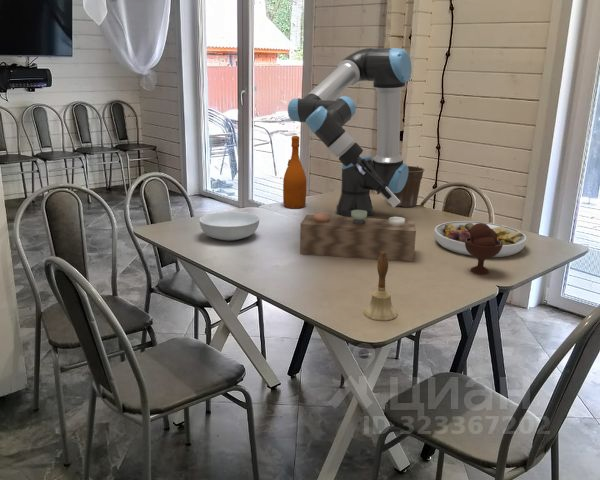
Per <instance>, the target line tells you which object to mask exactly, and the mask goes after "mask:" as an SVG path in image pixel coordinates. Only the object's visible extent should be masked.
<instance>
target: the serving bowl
mask: <svg viewBox="0 0 600 480" xmlns="http://www.w3.org/2000/svg"><path fill="white" fill-rule="evenodd" d="M198 221H199V226H200V229H201V230H202V232H203V233H204V234H205V235H206V236H208V237H210V238H213V239H216V240H220V241H227V242H229V241H237V240H242V239H244V238H247V237H249V236H251V235H253V234H254V233H255V232H256V231H257V230H258V227H259V225H260V217H259V215H257V214H256V213H253V212H252V213H251V212H246V211H232V210H231V211H230V210H229V211H219V212H218V211H217V212H212V213H207V214H205V215H202V216H201V217H200V218H199V220H198Z"/></svg>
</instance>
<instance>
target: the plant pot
mask: <svg viewBox="0 0 600 480" xmlns="http://www.w3.org/2000/svg"><path fill="white" fill-rule="evenodd" d="M407 166H408V170H409V171H408V178H407V181H406V184H405V186H404V188H403V189H402V190H401V191H400V192H399V193H393V194H394V195H395V196H396V197H397V198H398V199H399V200H400V203H399V204H398V205H397V206H396V207H398V208H399V207H402V208H413V207H416V206H417V204H418V198H419V192H420V188H421V182H422V179H423V175H424V172H425V168H423V167H419V166H415V165H414V166H413V165H407ZM388 204H389V205H390V206H392V205H391V204H390V203H389V202H388Z"/></svg>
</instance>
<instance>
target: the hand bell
mask: <svg viewBox="0 0 600 480" xmlns="http://www.w3.org/2000/svg"><path fill="white" fill-rule="evenodd" d="M376 267H377V273H378V285H377V288H378V289H377V290H374V291H373V292H372V294H371V298H370V302H369V305H368V306H367V307H366V308H364V310H363V314H364V315H363V316H364V317H366V318H368V319H371V320H373V321H379V322H380V321H383V322H384V321H391V320H394V319H396V318H397V317H398V312H397V309H395V308H394V307H393V304H392V299H391V293H390V292H389V291H387V290H386V276H387V274H388V269H389V260H388V259H387V255H386V252H381V254H380V256H379V259H377V265H376Z"/></svg>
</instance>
